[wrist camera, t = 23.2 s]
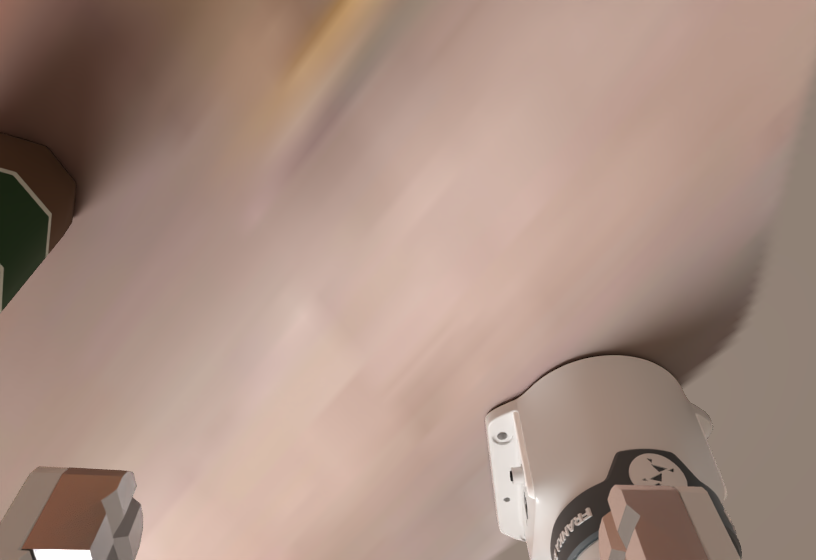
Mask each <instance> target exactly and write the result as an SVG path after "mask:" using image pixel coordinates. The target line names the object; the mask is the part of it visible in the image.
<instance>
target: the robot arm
mask: <svg viewBox="0 0 816 560" xmlns="http://www.w3.org/2000/svg"><path fill="white" fill-rule="evenodd" d="M485 426H486V434H487V442H488V450H489V458H490V466H491V474H492V482H493V491H494V499H495V507H496V515H497V521H498V525H499V528H500V531H501V532H502V533H503V534H505V535H507V536H510V537H512V538H515V539H518V540H521V541H525V542H527V547H528V552H529V556H530V560H741V556H742V551H741V546H740V543H739V540H738V538H737V535H736V530H735V528H734V525H733V523H732V521H731V518H730V516H729V515H728V513H727V512H726V510H724V508H723V505H722V504H723V501H724V500H725V499H726V498H727V490H726V487H725V484H724V481H723V479H722V477H721V474H720V471H719V469H718V466H717V464H716V461H715V458H714V456H713V453H712V451H711V449H710V447H709V444H708V441H707V439H708V437H709V436H710V434H711V432H712V430H713V425H712V423H711V420H710V417H709V415H708V414H707V413H706V412H705V411H703V410H702V409H700V408H699V407H697V406H696V405H694V404H692V403H690V401H689V400H688V399H687V397H686V396H685V394H684V392H683V390H682V388H681V386H680V384H679V383H678V381H677V380H676V379H675V378H674V377H673V376H672V375H671V374H670V373H669V372H668V371H667V370H665V369H664V368H662V367H660V366H659V365H657V364H655V363H652V362H650V361H647V360H644V359H641V358H636V357H631V356H622V355H606V356H596V357H590V358H586V359H582V360H578V361H575V362H572V363H569V364H567V365H564V366H562V367H560V368H558V369H556V370H554V371H552V372H550V373H549V374H547V375H545V376H544V377H543V378H541V379H540V380H539V381H537V382H536V383H535V384H534V385H533V386H532V387H531V388H529V389H528V390H527V391H526V392H525V393H524V394H523V395H522V396H520V397H519V398H517V399H516V400H513V401H511V402H509V403H506V404H504V405H502V406H500V407H498V408H496V409H494V410H492V411H491V412H489V413H488V415H487V416H486V418H485ZM501 432H504V433H501ZM136 487H137V485H136V481H135V477H134V473H133V472H131V471H122V470H104V469H86V468H61V467H41V466H39V467H38V468H36V469H35V470H34V471H33V472H31V473H30V474H29V476H28V478H27V479H26V481H25V483H24V484H23V486H22V488H21V489H20V491H19V493H18V494H17V496H16V498H15V499H14V501H13V503H12V504H11V506H10V508H9V509H8V511H7V513H6V514H5V516H4V518H3V519H2V521H1V522H0V560H135V558H136V555H137V552H138V549H139V547H140V542H141V536H142V531H143V513H142V508H141V504H140V503H139V502H138V501H136V500H135V499H134V498H133V494H134V492H135V489H136Z"/></svg>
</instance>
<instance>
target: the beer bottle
mask: <svg viewBox="0 0 816 560" xmlns="http://www.w3.org/2000/svg"><path fill="white" fill-rule="evenodd" d="M75 191H76V182H75V181H74V180H73V178H72V177H71V176H70V175H69V174H68V172H67V171H66V170H65V169H64V167H63V166H62V165H61V164H60V162H59V161H58V160H57V159H56V158H55V156H54V155H53V154H52V153H51V151H50V150H49V149H48V148H47V146H44V145H40V144H37V143H33V142H30V141H27V140H23V139H20V138H17V137H13V136H10V135H6V134H3V133H0V313H1V312H2V310H3V309H4V308H5V307H6V306H7V304H8V303H9V302H10V301H11V299H12V298H13V297H14V296H15V294H16V293H17V292H18V291H19V290H20V288H21V287H22V286H23V285H24V283H25V282H26V281H27V280H28V278H29V277H30V276H31V275H32V274H33V272H34V271H35V270H36V269H37V267H38V266H39V265H40V264H41V263H42V261H43V260H44V259H45V258H46V256H47V255H48V254H49V253H50V251H51V250H52V249H53V248H54V247H55V245H56V244H57V243H58V242H59V240H60V239H61V238H62V237H63V235H64V234H65V232H66V231H67V229H68V228H69V226H70V225H71V223H72V219H73V209H74V200H75Z"/></svg>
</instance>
